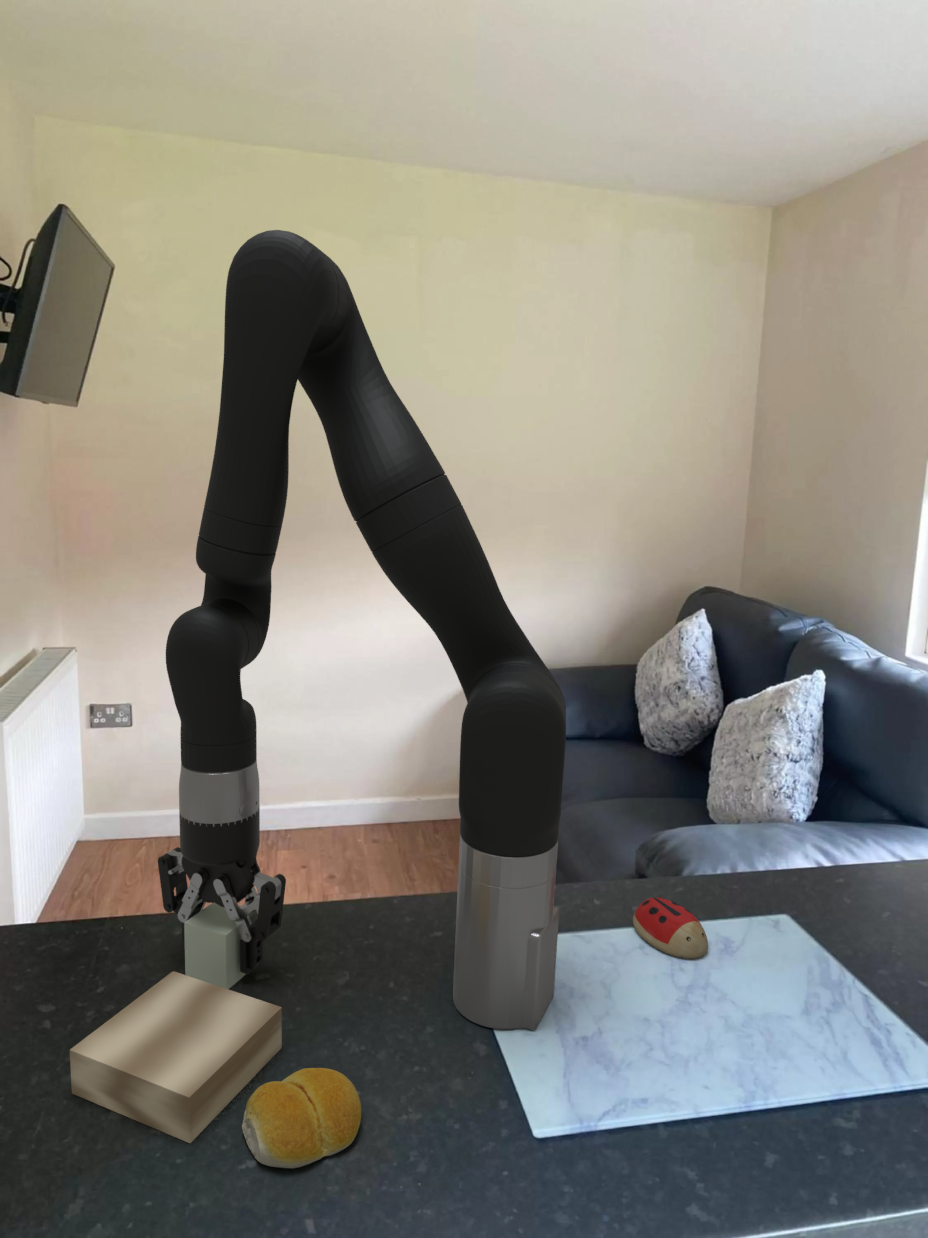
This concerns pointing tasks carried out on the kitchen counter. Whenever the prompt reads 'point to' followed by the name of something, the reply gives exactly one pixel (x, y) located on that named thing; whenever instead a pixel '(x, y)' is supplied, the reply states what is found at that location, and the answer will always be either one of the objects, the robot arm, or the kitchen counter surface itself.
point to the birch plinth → (177, 1054)
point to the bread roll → (302, 1118)
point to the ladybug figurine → (670, 928)
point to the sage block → (213, 947)
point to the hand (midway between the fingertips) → (221, 960)
